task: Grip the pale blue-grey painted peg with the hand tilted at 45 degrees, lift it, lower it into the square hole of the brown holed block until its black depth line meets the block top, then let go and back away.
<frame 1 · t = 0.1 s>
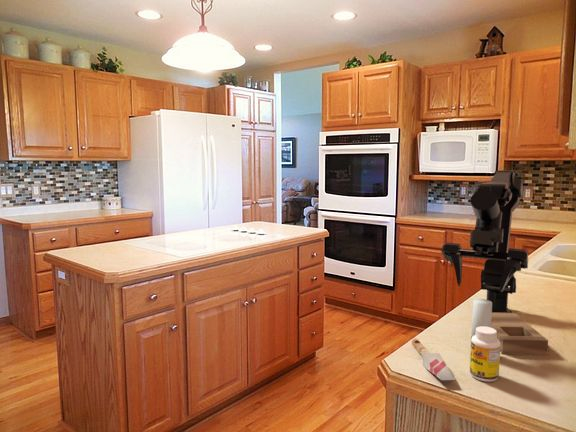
hand: (479, 288, 102), 15 cm above the worktop, fingers open, 9 cm apart
brown holed block: (508, 338, 109), on the worktop
supplement bottle: (483, 377, 91), on the worktop
paintbrush: (429, 365, 97), on the worktop
peg: (480, 353, 101), on the worktop
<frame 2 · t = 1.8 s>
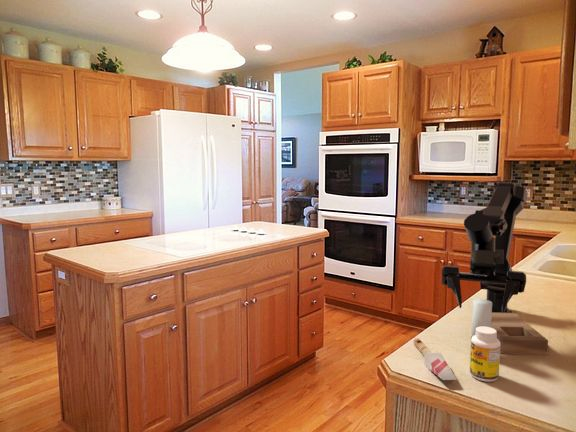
hand: (481, 309, 102), 10 cm above the worktop, fingers open, 9 cm apart
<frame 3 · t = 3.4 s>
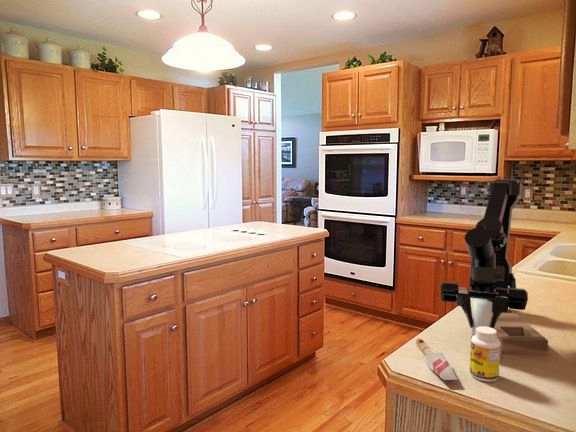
hand: (481, 328, 99), 7 cm above the worktop, fingers closed on peg, 4 cm apart
peg: (480, 353, 101), on the worktop, touching gripper
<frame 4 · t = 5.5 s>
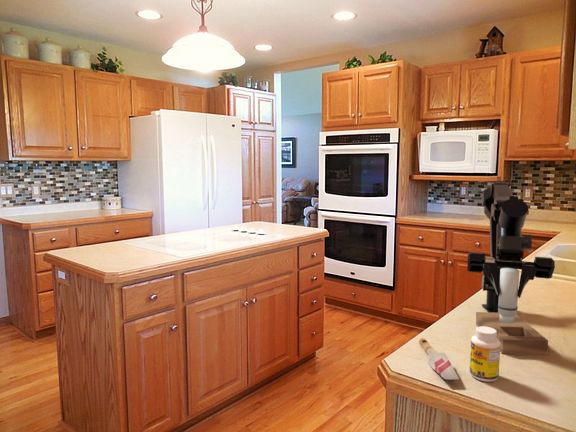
hand: (508, 295, 102), 13 cm above the worktop, fingers closed on peg, 4 cm apart
peg: (506, 320, 104), point 7 cm above the worktop, touching gripper
when the fingers open (7 cm above the worktop, at t = 7.5 s): peg stays where it is, resting in brown holed block.
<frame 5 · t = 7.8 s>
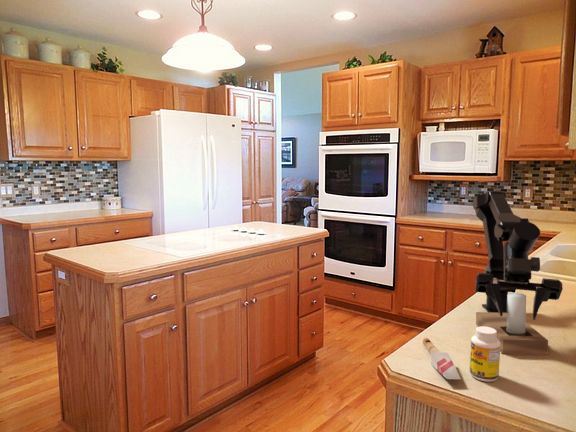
hand: (517, 317, 103), 8 cm above the worktop, fingers open, 7 cm apart
peg: (515, 344, 106), resting in brown holed block
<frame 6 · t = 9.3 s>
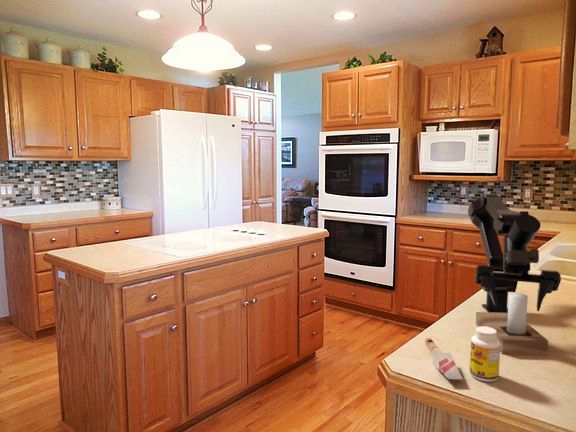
hand: (516, 308, 105), 9 cm above the worktop, fingers open, 9 cm apart
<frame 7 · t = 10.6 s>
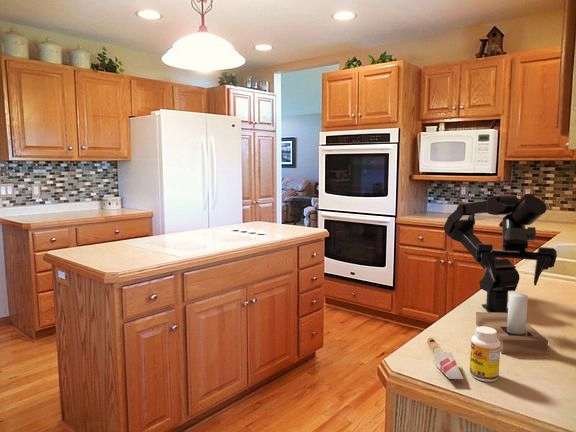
hand: (514, 282, 111), 13 cm above the worktop, fingers open, 9 cm apart
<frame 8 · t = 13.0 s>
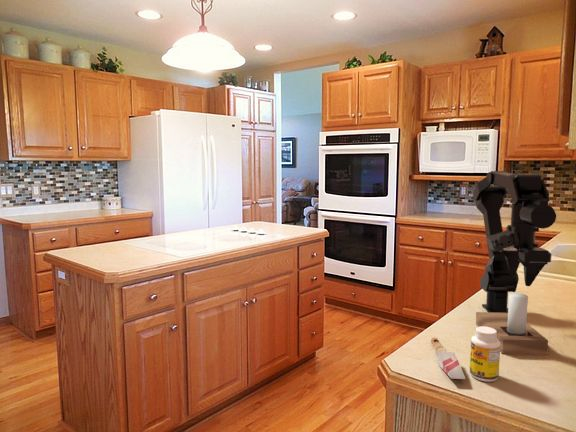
hand: (519, 280, 114), 13 cm above the worktop, fingers open, 9 cm apart
at the end: peg 0.1 cm from the target spot on the brown holed block, point 0.0 cm above the brown holed block's base; peg tilted 0°; the gripper is holding nothing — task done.
